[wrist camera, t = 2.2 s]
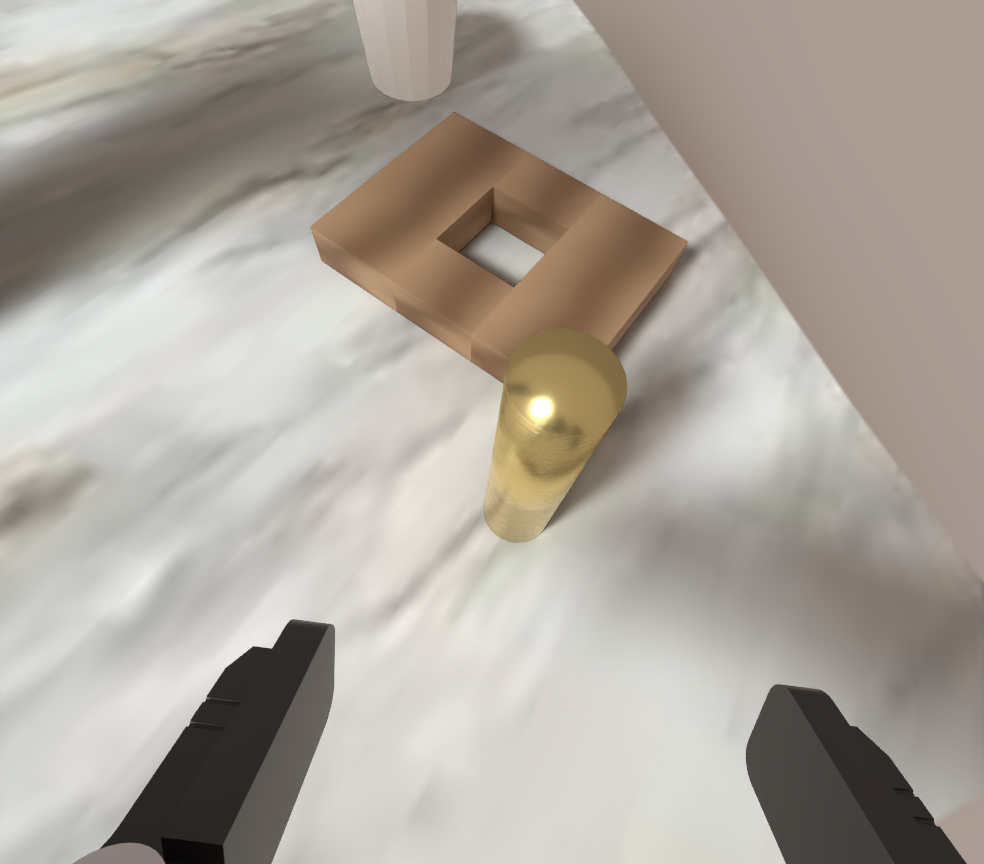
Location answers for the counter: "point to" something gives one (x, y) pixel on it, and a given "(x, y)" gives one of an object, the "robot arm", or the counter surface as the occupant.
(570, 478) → the peg
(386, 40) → the shot glass
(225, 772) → the robot arm
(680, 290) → the counter surface
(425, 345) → the counter surface
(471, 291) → the block
